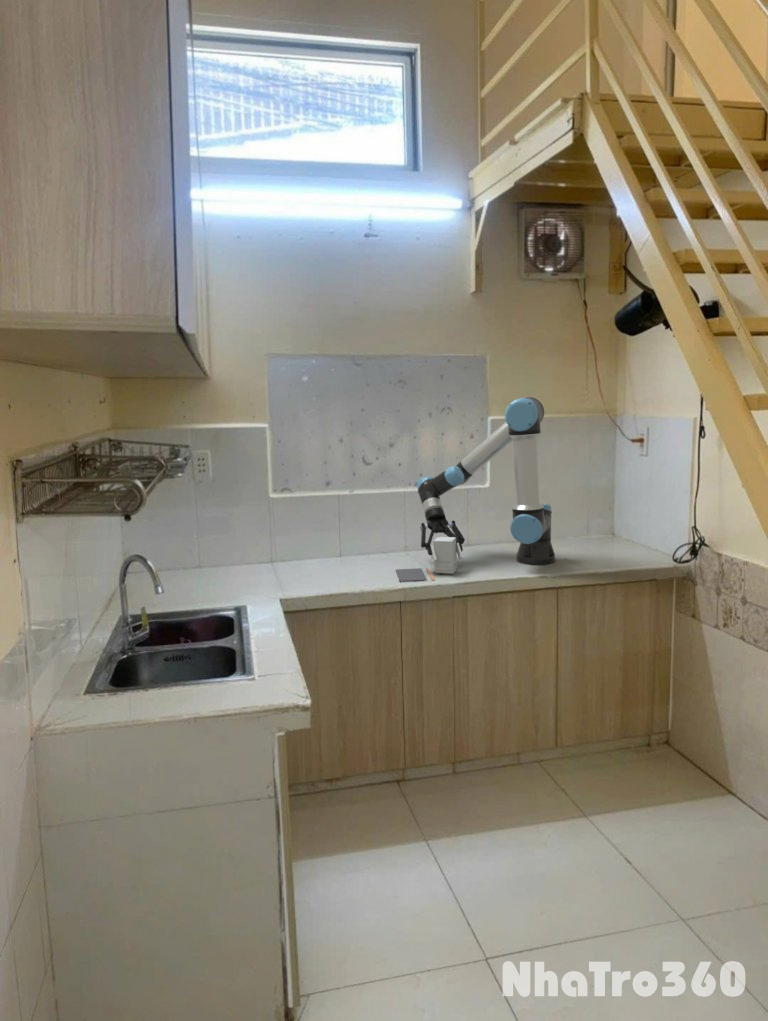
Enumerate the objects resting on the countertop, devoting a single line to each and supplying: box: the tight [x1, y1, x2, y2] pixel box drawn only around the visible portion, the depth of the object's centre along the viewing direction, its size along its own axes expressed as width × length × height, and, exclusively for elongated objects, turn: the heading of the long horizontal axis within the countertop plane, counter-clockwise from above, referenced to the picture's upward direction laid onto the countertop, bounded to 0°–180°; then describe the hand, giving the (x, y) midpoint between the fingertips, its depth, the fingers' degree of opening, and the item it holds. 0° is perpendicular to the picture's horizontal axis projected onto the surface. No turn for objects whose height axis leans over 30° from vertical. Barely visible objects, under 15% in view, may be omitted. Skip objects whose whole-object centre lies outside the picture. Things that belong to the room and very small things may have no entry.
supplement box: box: [432, 536, 458, 575], centre depth 260 cm, size 7×7×13 cm
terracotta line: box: [426, 567, 436, 581], centre depth 259 cm, size 1×16×1 cm, turn 4°
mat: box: [395, 567, 428, 582], centre depth 258 cm, size 10×16×1 cm, turn 4°
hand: (448, 560), depth 257 cm, fingers closed on supplement box, 10 cm apart
